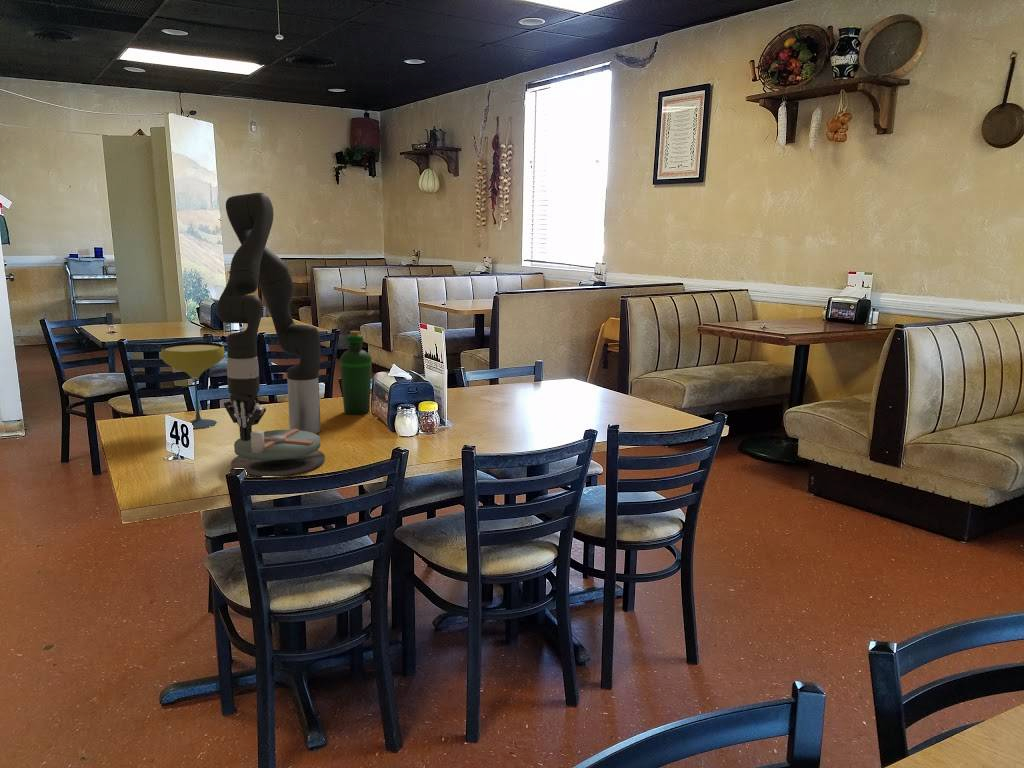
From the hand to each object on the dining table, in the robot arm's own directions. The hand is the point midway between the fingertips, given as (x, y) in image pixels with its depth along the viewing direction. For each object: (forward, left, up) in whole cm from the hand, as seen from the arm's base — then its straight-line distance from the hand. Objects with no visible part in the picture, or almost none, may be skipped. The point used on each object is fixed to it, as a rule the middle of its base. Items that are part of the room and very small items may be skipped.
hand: (246, 440), depth 188 cm
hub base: (-7, +7, -9) cm, 13 cm away
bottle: (-60, +26, -9) cm, 66 cm away
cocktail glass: (-49, -23, -9) cm, 55 cm away
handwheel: (-7, +7, -4) cm, 10 cm away
